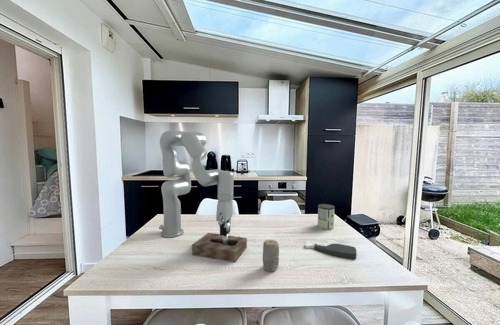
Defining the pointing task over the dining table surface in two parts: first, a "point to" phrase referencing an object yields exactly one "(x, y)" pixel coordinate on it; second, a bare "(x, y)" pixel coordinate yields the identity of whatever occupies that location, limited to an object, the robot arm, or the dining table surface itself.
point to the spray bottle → (334, 250)
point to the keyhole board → (219, 247)
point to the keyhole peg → (225, 238)
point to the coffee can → (326, 216)
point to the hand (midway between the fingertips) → (225, 233)
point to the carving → (270, 255)
